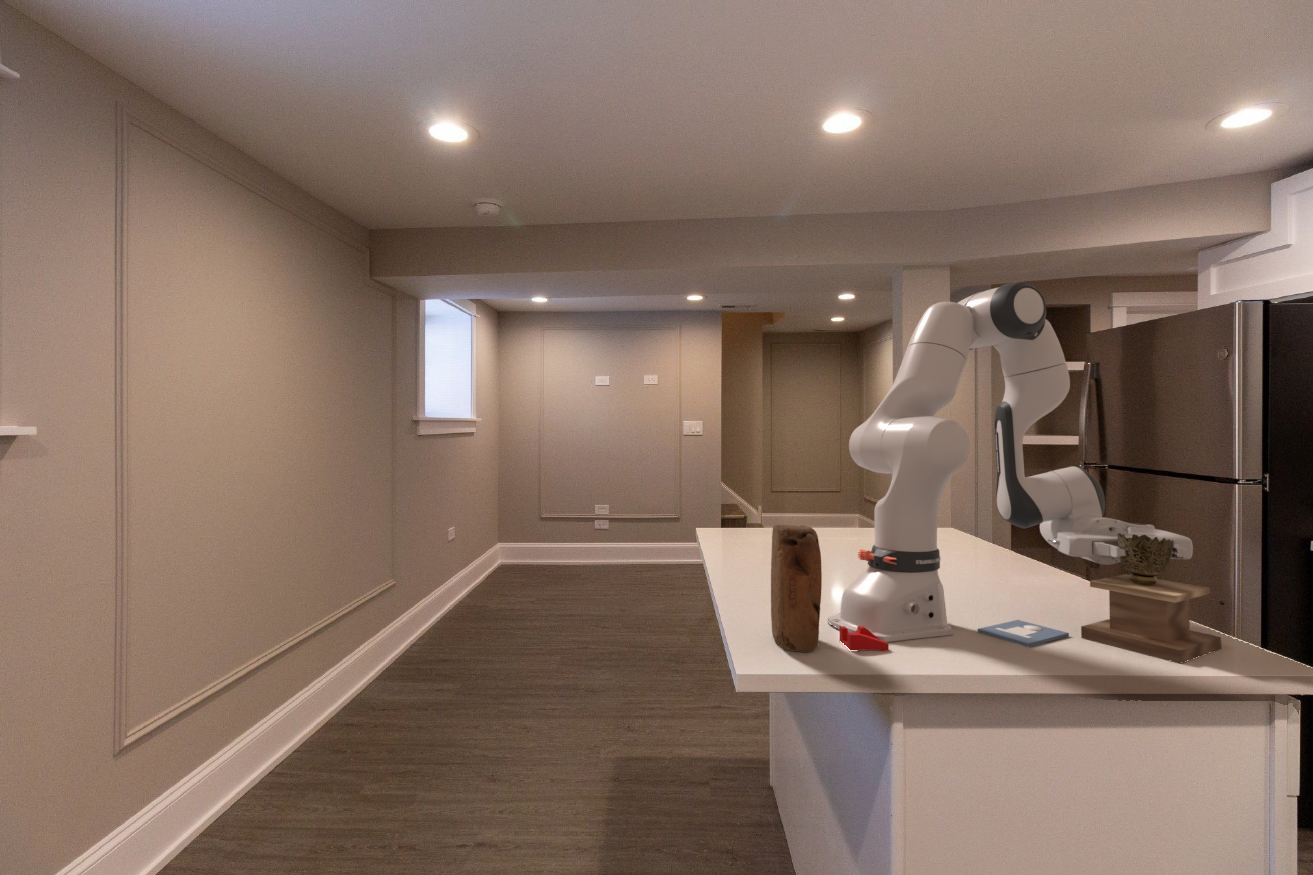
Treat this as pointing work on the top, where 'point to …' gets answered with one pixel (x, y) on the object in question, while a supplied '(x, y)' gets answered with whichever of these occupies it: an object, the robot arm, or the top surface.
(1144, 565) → the cup
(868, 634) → the bracket
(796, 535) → the brown speckled rock
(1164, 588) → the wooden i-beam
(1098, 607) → the top surface
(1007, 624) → the board
